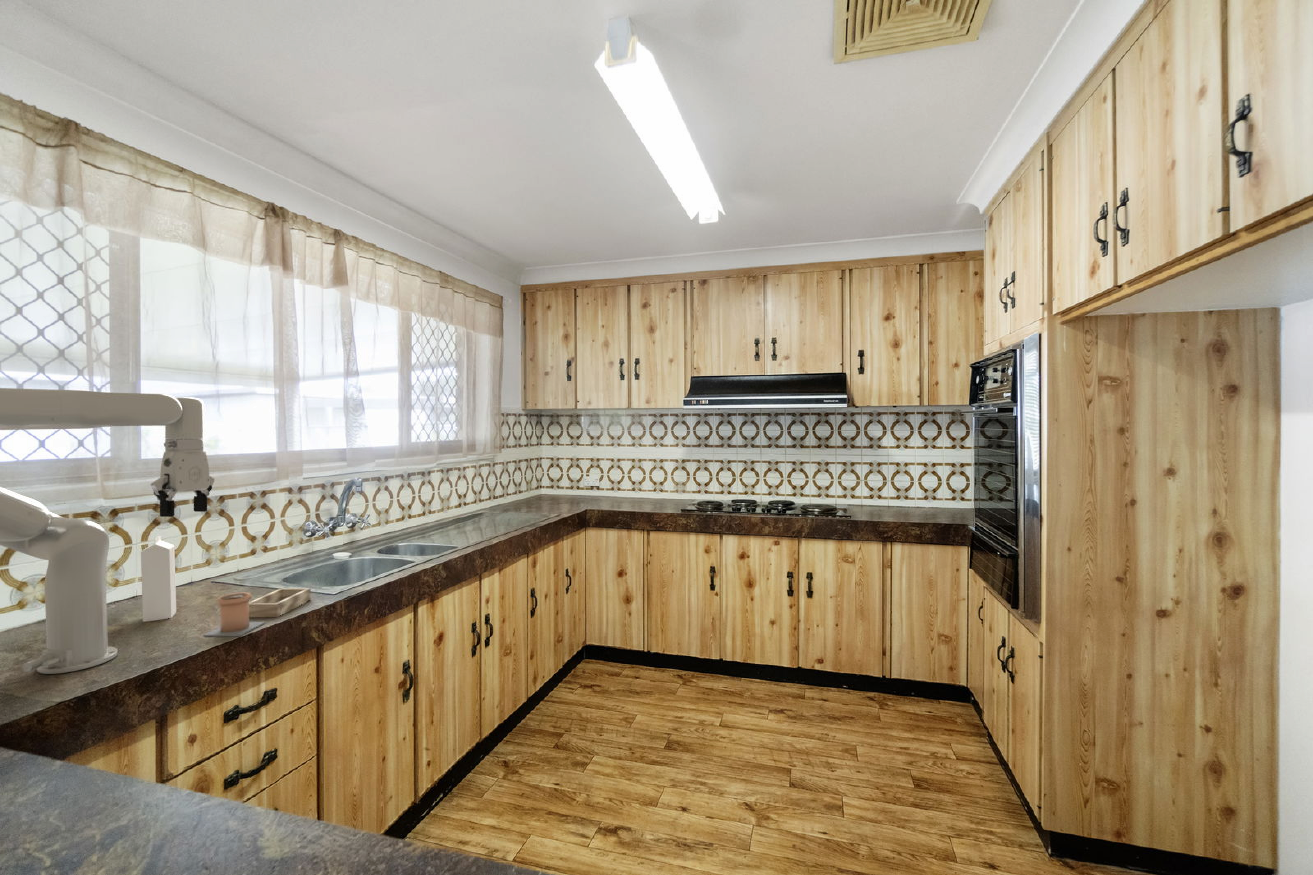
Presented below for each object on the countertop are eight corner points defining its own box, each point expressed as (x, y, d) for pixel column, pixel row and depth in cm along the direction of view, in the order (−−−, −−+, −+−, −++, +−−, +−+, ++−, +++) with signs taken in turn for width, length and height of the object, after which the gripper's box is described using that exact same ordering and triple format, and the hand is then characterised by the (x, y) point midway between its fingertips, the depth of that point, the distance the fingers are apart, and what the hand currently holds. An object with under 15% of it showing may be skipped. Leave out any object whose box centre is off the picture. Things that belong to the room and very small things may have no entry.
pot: (238, 633, 144) (237, 600, 144) (210, 633, 144) (209, 600, 144) (258, 623, 151) (257, 592, 151) (231, 623, 151) (230, 592, 151)
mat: (240, 636, 143) (240, 634, 143) (203, 636, 143) (203, 634, 143) (264, 623, 152) (264, 622, 152) (230, 623, 152) (230, 622, 152)
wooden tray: (277, 617, 157) (277, 604, 157) (244, 617, 157) (244, 604, 157) (310, 600, 172) (310, 588, 172) (280, 600, 172) (280, 588, 172)
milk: (142, 622, 154) (139, 540, 153) (148, 615, 159) (145, 536, 158) (172, 618, 157) (168, 537, 156) (177, 611, 162) (174, 533, 161)
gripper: (168, 447, 138) (167, 519, 138) (226, 445, 155) (225, 509, 155) (138, 446, 138) (137, 518, 138) (199, 445, 155) (198, 509, 155)
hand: (184, 513), depth 146 cm, fingers open, 9 cm apart
